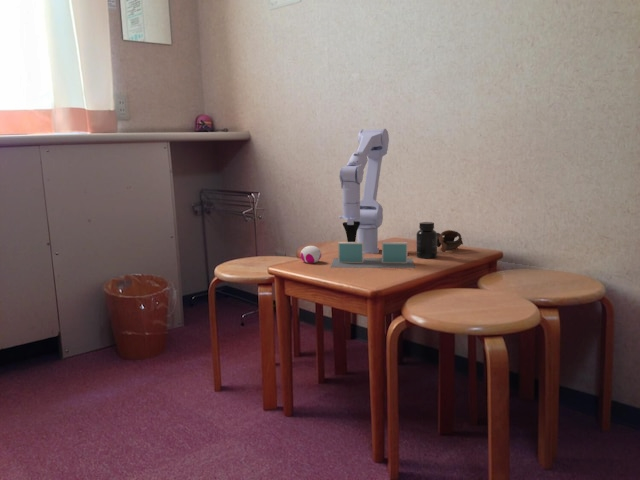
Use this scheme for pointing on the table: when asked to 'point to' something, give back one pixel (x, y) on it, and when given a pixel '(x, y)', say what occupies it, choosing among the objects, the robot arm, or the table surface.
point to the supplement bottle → (426, 241)
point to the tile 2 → (394, 252)
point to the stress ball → (310, 254)
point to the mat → (373, 264)
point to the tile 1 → (350, 252)
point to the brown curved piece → (448, 240)
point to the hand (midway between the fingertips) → (351, 243)
